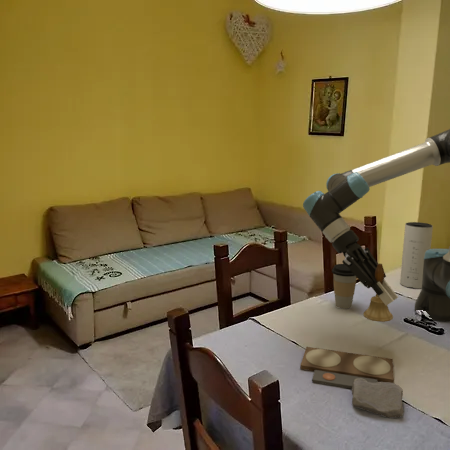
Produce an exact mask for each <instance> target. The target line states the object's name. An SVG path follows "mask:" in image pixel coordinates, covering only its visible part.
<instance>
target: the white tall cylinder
mask: <svg viewBox="0 0 450 450" xmlns="http://www.w3.org/2000/svg"><path fill="white" fill-rule="evenodd" d="M433 227H434V226H433V225H432V224H431V223H427V222H419V221H418V222H417V221H410V222H409V221H408V222H405V224H404V235H403V244H402V248H403V249H402V257H401V266H400V267H401V268H400V279H399V284H400V285H401V286H403V287H405V288H409V289H413V290H414V289H415V290H416V289H417V290H421V289H422V278H423V265H424V256H425V252H426V251H427V250H429V249H432V248H431V246H432V238H433Z"/></svg>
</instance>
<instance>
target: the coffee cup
mask: <svg viewBox="0 0 450 450" xmlns="http://www.w3.org/2000/svg"><path fill="white" fill-rule="evenodd" d="M331 274H333V279H332V280H333V293H334V294H333V295H334V304H335V307H336V308H338V309H343V310H347V309H348V310H349V309H350V308H352V307H353V301H354V295H355V290H356V284H357V277H356V276H355V275H354V273H353V272H352V271H351V270H350V269H349V268H348V267H347V266H346V265H345V264H343V263H338V264H335V265H333V267H332V269H331Z"/></svg>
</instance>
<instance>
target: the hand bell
mask: <svg viewBox="0 0 450 450" xmlns="http://www.w3.org/2000/svg"><path fill="white" fill-rule="evenodd" d="M384 273H385V269H384V266H383V263H378V265H377V268H376V270H375V279H376V281H377V283H378V282H380V283H381V284H382V283H383V281H384V280H385V278H384ZM388 306H389V305H387V306H386V305H385V304H384V303H383V301H382V300H381V299H380V297H379V296H378V295H377V294H376V293H375V296H372V297H371V298H370V303H369V305H368V308H367V309H366V310H365V311H363V317H364V318H365V319H367V320H369V321H372V322H378V323H385V322H390V321H392V320H393V319H394V315H393V314H392V313H391V311H390V309H389V307H388Z"/></svg>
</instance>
